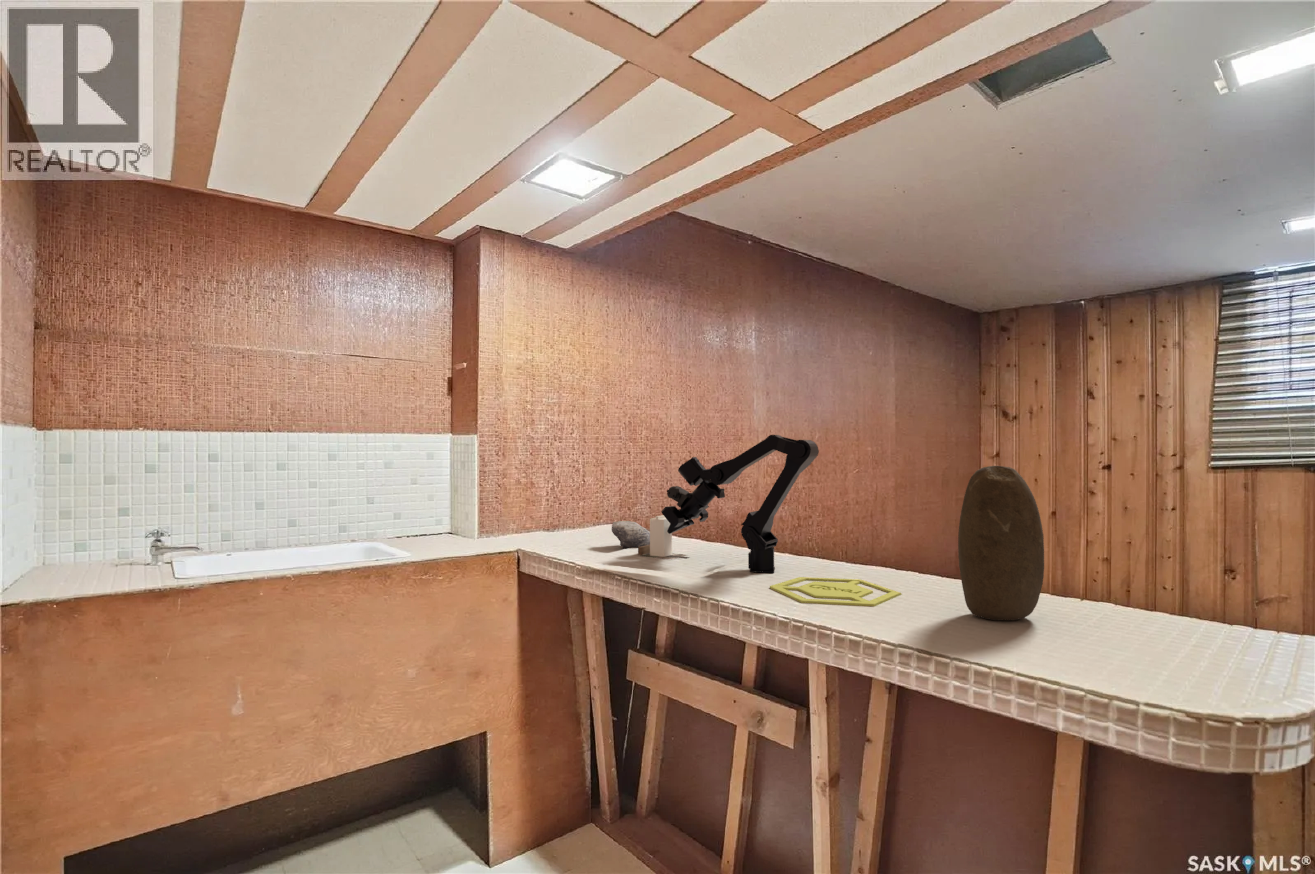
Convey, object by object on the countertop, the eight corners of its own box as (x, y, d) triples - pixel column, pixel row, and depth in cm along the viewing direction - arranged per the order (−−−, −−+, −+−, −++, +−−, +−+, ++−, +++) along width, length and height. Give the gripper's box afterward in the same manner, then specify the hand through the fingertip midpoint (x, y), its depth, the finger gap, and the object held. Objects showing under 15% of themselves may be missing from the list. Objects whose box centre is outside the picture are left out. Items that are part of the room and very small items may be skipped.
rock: (637, 559, 203) (632, 530, 201) (607, 549, 216) (603, 521, 214) (662, 548, 210) (658, 520, 208) (632, 539, 222) (628, 512, 221)
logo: (914, 586, 150) (858, 610, 128) (914, 589, 150) (858, 614, 128) (816, 572, 168) (751, 591, 146) (816, 575, 168) (751, 594, 146)
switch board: (697, 559, 189) (697, 547, 189) (680, 565, 181) (680, 552, 181) (650, 554, 198) (650, 543, 198) (632, 559, 190) (632, 547, 190)
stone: (947, 613, 127) (946, 465, 128) (999, 606, 133) (997, 464, 134) (1004, 630, 116) (1002, 467, 116) (1058, 621, 121) (1055, 465, 122)
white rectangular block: (672, 554, 191) (671, 515, 191) (664, 556, 187) (663, 517, 187) (658, 553, 194) (657, 514, 194) (650, 555, 190) (649, 516, 190)
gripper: (699, 475, 194) (669, 509, 200) (667, 478, 178) (635, 515, 184) (722, 502, 190) (690, 536, 196) (691, 508, 174) (657, 544, 180)
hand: (668, 532), depth 189 cm, fingers closed, pressing on white rectangular block
